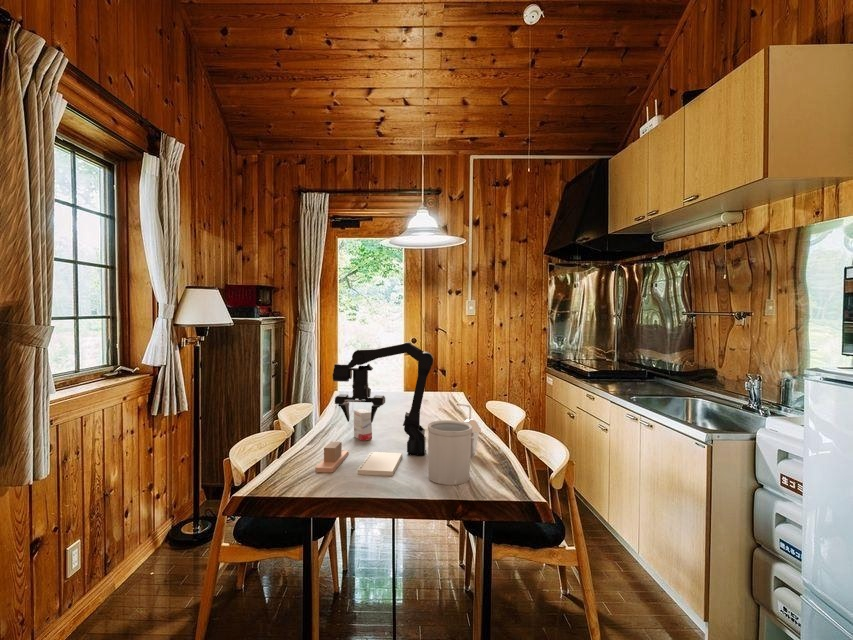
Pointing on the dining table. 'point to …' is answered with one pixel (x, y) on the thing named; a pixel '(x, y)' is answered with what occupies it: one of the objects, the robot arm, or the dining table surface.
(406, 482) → the dining table surface
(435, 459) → the utensil holder
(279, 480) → the dining table surface
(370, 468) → the board
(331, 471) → the stub
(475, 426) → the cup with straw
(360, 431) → the ink box
